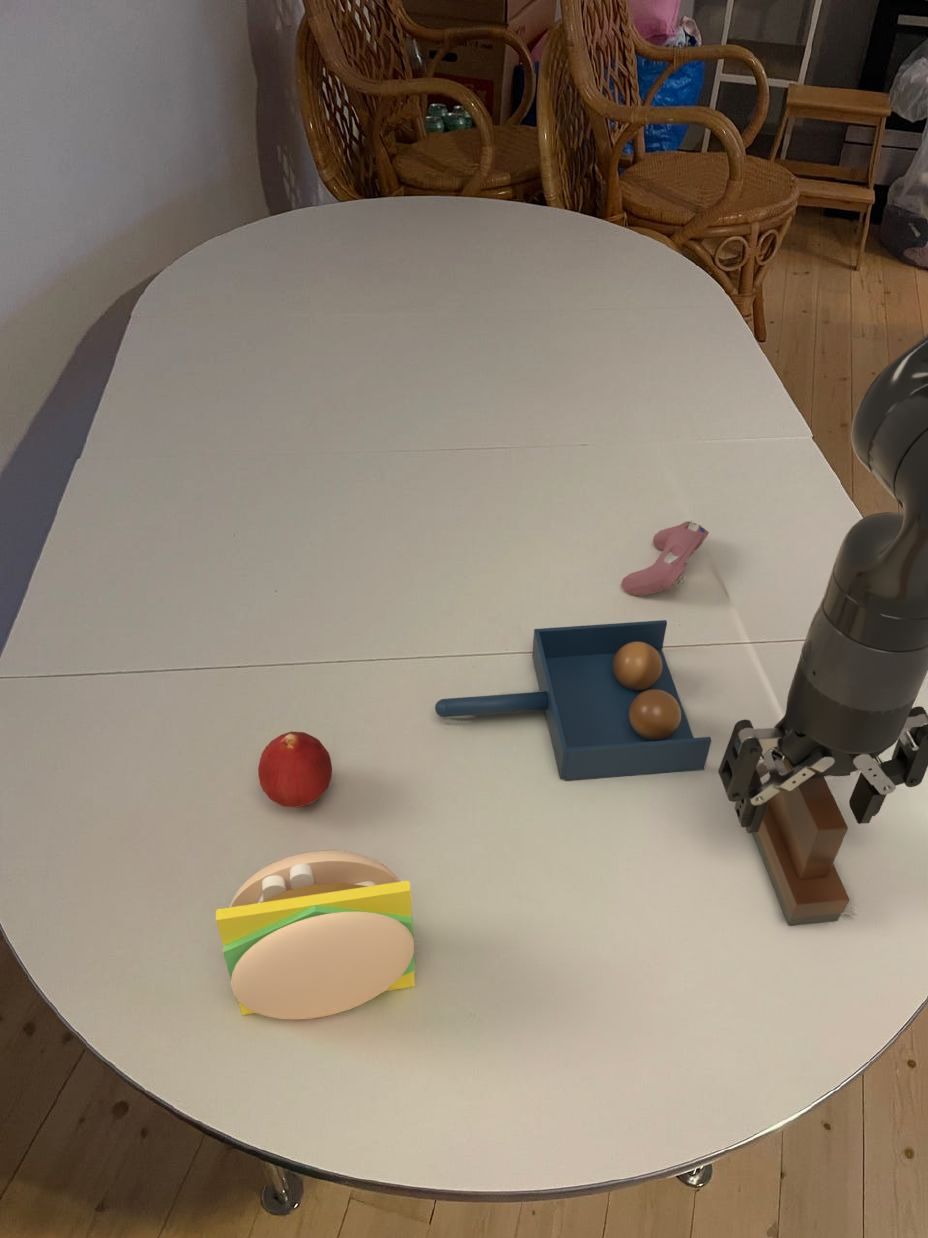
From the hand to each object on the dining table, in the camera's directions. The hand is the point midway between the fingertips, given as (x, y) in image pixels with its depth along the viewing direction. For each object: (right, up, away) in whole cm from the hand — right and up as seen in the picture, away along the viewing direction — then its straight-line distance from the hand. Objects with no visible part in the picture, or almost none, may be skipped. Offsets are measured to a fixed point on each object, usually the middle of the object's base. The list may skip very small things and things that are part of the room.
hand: (803, 819), depth 78 cm
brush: (0, -4, +3) cm, 5 cm away
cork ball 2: (-9, +7, +11) cm, 16 cm away
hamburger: (-35, -10, -4) cm, 37 cm away
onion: (-39, 0, +8) cm, 40 cm away
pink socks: (-5, +19, +29) cm, 35 cm away
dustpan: (-17, +6, +15) cm, 23 cm away
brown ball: (-10, +11, +16) cm, 21 cm away
